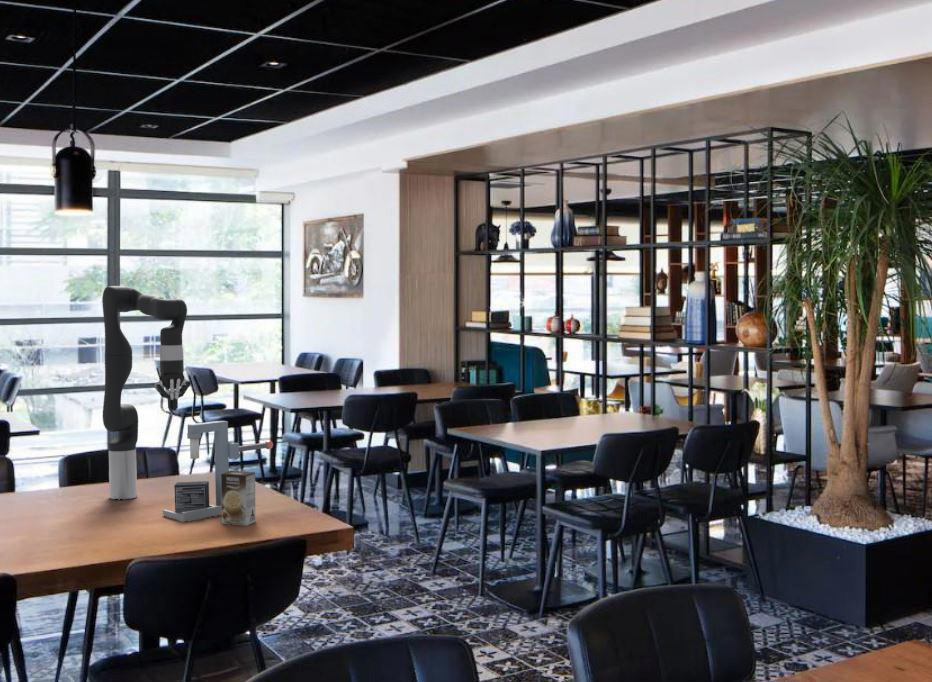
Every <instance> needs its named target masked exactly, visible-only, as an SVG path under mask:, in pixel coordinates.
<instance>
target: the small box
mask: <svg viewBox="0 0 932 682" xmlns="http://www.w3.org/2000/svg"><path fill="white" fill-rule="evenodd" d="M209 482H210V481H209V480H207V481H206V480H205V481H204V480H202V481H181V482H180V481H179V482H176V483H175V484H174V485H173V486H174V487H173V488H174V512H176V513H179V514H182V512H186V511H192V510H197V509H203V508H209V504H210V483H209Z"/></svg>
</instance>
